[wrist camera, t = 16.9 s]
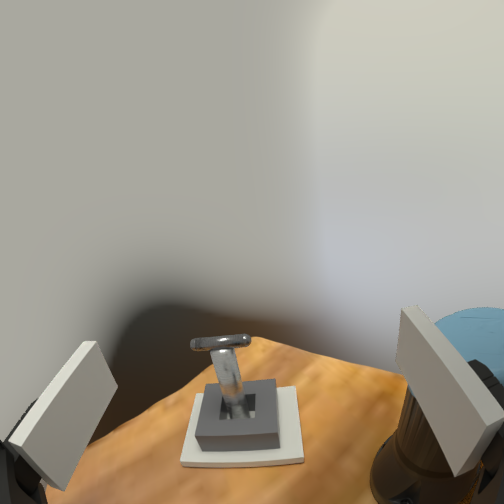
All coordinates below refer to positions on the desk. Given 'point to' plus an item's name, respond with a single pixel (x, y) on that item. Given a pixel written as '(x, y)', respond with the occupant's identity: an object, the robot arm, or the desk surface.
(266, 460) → the chuck block
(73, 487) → the desk surface
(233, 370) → the chuck key
